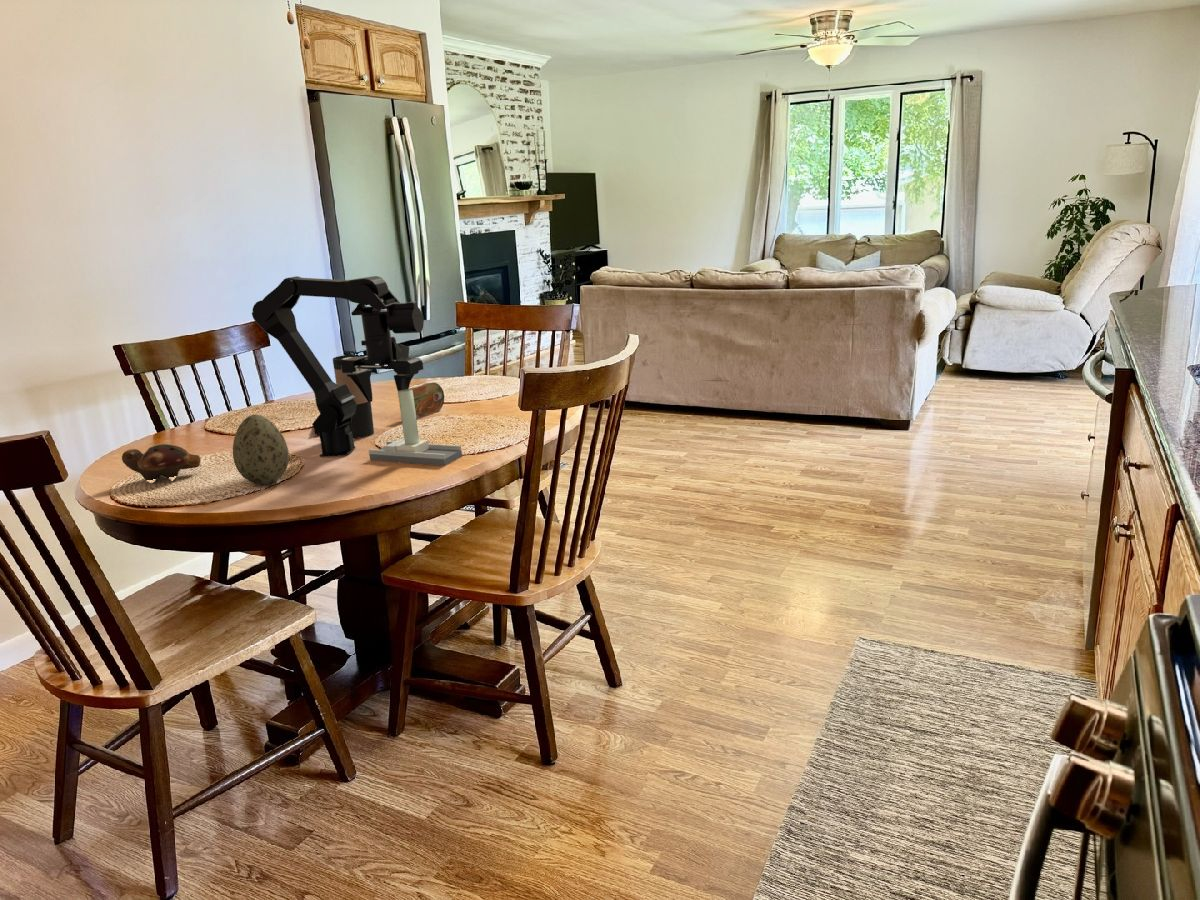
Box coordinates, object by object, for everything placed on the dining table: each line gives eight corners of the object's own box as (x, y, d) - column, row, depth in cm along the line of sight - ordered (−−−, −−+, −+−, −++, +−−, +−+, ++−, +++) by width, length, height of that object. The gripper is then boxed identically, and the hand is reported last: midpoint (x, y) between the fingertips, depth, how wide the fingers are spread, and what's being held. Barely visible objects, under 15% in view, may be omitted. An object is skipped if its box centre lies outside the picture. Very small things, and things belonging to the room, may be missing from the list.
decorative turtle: (125, 480, 183) (120, 445, 182) (200, 471, 191) (196, 437, 189) (125, 490, 175) (120, 453, 173) (204, 479, 182) (199, 444, 181)
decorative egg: (255, 476, 181) (242, 409, 176) (302, 474, 179) (290, 407, 175) (229, 492, 170) (215, 422, 166) (278, 491, 169) (265, 420, 165)
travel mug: (346, 440, 205) (334, 361, 199) (342, 433, 212) (330, 356, 206) (377, 435, 208) (366, 357, 202) (372, 429, 215) (361, 352, 209)
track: (370, 460, 187) (367, 445, 186) (388, 451, 193) (386, 437, 192) (445, 465, 179) (443, 450, 178) (462, 456, 185) (460, 441, 184)
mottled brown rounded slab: (408, 422, 219) (404, 391, 217) (399, 421, 221) (395, 390, 219) (446, 409, 231) (443, 379, 229) (438, 408, 233) (434, 379, 231)
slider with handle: (397, 454, 184) (388, 393, 180) (410, 447, 189) (402, 387, 185) (415, 455, 182) (407, 393, 178) (429, 448, 187) (421, 388, 183)
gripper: (432, 328, 187) (441, 395, 192) (366, 328, 194) (375, 393, 199) (403, 336, 177) (413, 407, 182) (334, 336, 185) (345, 404, 189)
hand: (386, 402), depth 188 cm, fingers open, 9 cm apart
